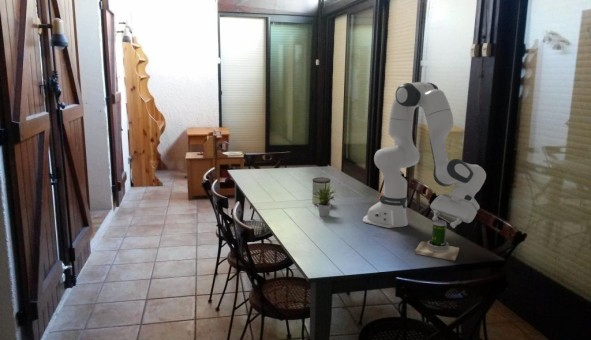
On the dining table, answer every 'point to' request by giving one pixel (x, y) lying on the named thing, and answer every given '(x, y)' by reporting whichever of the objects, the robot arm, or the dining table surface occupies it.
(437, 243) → the beer can
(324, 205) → the house plant
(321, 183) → the glass jar with lid
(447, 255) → the board
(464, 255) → the dining table surface
